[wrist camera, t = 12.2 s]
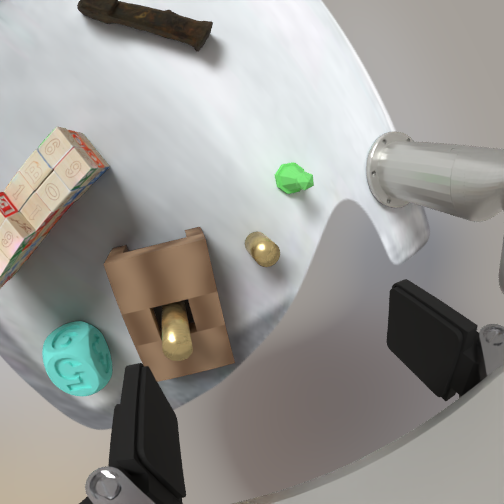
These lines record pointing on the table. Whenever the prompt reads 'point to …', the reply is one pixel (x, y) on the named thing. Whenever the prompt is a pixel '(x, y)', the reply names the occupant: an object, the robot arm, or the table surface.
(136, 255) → the bridge board
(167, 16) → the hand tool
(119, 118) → the table surface
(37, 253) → the table surface
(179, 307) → the tall pin
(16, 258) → the stack of blocks
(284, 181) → the game piece
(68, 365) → the decorative dice
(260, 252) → the short pin
